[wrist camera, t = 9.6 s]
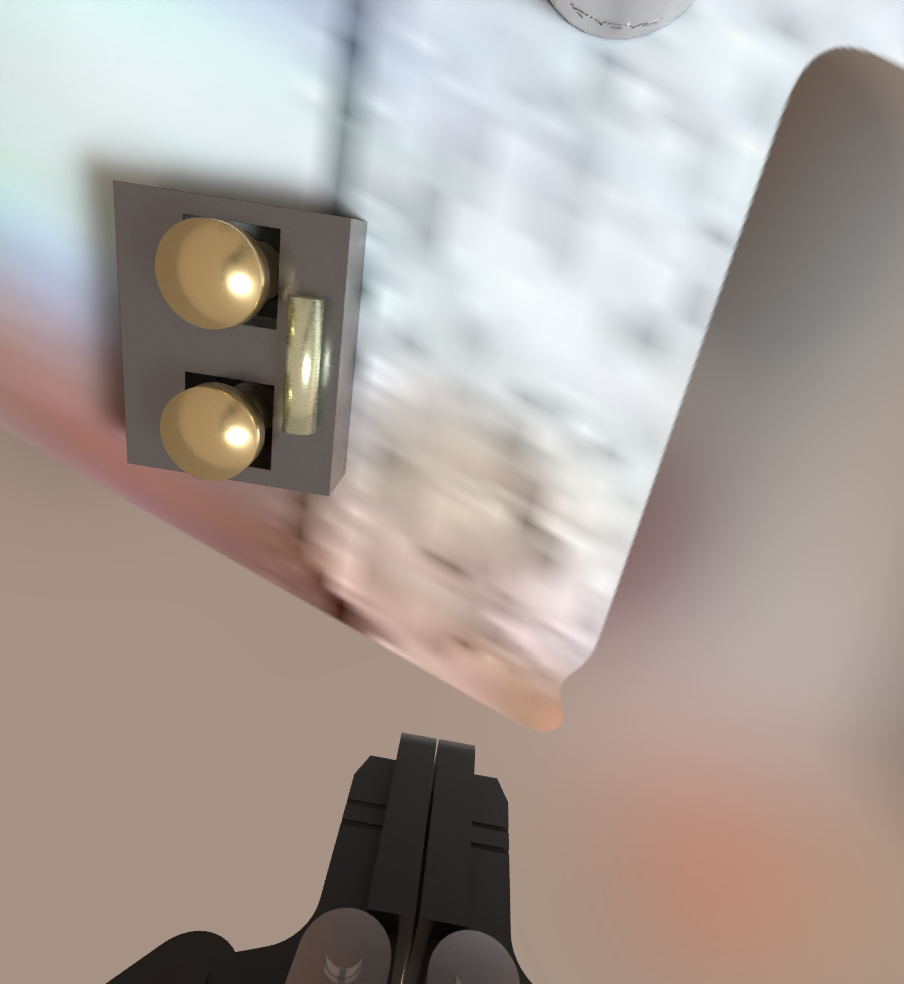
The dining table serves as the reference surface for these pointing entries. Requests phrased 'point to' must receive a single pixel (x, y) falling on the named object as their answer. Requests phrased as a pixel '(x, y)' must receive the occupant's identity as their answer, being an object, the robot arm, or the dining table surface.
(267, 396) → the brass knob
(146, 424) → the level base plate
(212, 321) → the brass knob
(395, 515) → the dining table surface
